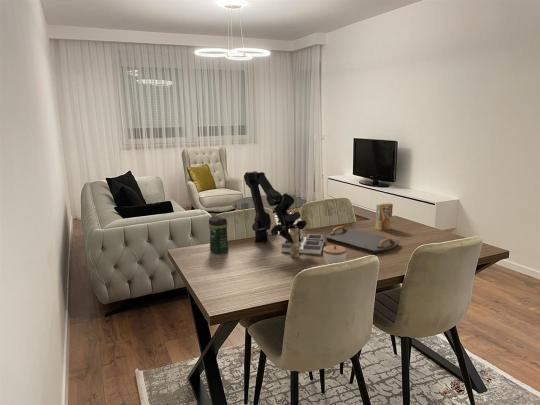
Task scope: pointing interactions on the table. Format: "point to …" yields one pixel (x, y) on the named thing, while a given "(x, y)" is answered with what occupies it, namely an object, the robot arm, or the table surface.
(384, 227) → the candy box
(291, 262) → the table surface
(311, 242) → the grey compartment tray
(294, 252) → the stool leg
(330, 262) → the lidded jar
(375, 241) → the serving board
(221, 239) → the coffee jar
